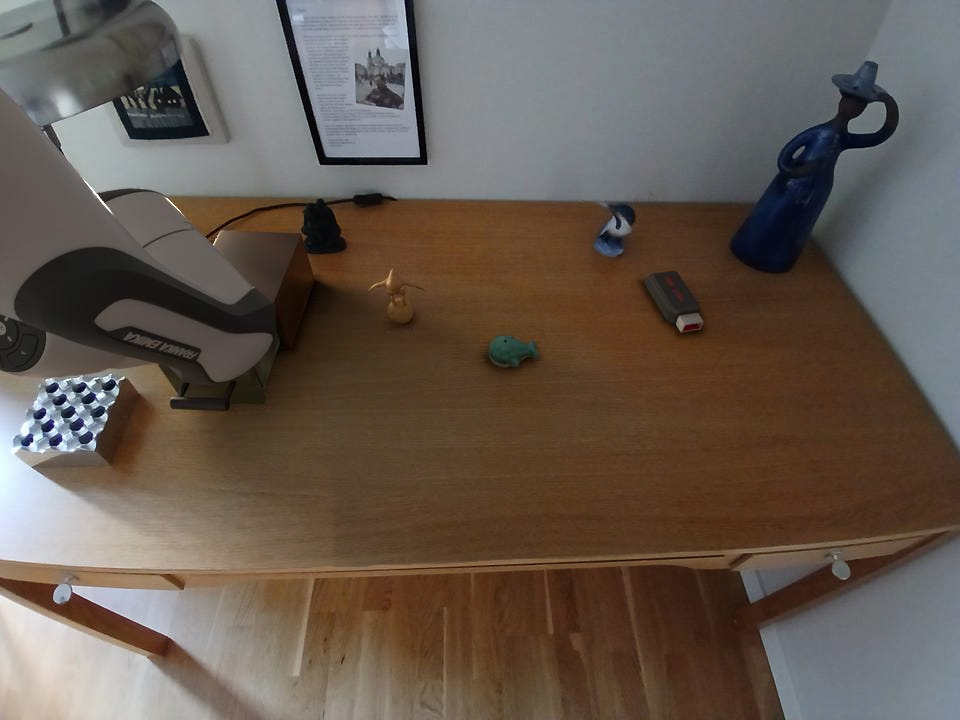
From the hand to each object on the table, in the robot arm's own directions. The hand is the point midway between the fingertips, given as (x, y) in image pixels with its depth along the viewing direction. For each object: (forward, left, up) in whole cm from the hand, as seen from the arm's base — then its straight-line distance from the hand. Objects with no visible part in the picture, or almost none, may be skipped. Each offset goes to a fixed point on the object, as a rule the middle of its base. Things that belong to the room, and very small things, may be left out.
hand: (204, 320), depth 71 cm
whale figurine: (+26, -31, -12) cm, 42 cm away
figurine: (+22, -13, -12) cm, 28 cm away
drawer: (0, 0, -11) cm, 11 cm away
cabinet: (+12, +7, -12) cm, 18 cm away
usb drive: (+50, -47, -12) cm, 70 cm away
